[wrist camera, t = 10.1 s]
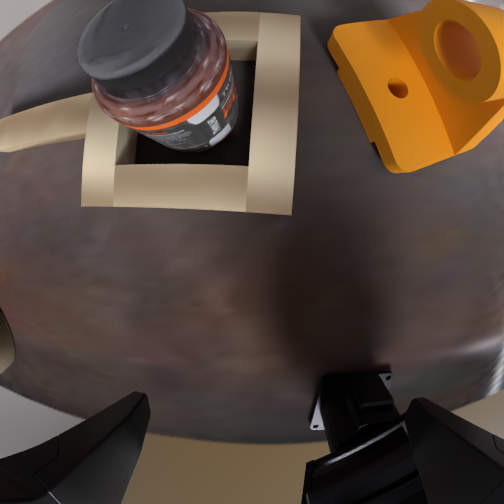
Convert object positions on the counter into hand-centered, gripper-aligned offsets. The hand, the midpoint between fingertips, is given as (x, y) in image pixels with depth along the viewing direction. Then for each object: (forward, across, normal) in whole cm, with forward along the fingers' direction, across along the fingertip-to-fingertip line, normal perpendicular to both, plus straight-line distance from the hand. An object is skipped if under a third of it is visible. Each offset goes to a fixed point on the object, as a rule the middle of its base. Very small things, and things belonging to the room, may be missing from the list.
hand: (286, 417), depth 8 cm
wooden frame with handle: (+12, +12, -12) cm, 21 cm away
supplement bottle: (+12, +6, -12) cm, 18 cm away
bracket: (+12, -8, -15) cm, 21 cm away
